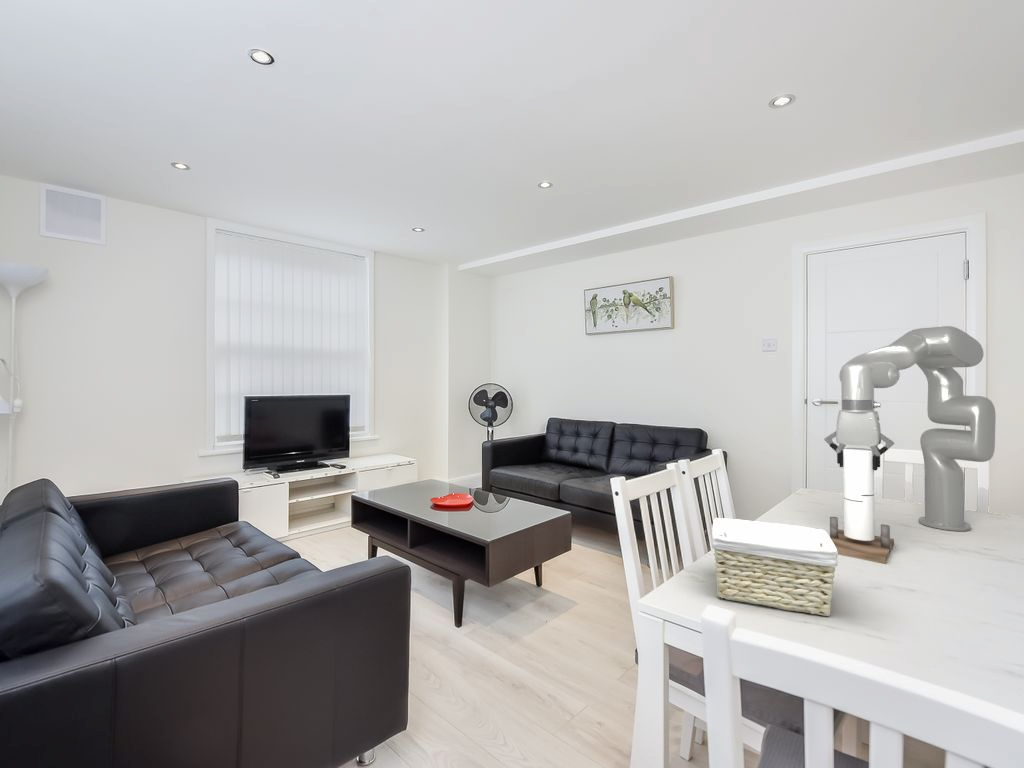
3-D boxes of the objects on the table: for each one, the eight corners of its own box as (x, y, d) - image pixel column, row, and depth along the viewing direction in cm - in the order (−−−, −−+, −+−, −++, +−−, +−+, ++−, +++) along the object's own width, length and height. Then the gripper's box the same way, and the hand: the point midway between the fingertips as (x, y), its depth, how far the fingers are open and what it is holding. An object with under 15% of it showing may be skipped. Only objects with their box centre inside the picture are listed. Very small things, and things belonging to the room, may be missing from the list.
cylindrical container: (880, 541, 132) (879, 451, 132) (851, 539, 133) (850, 451, 133) (866, 533, 139) (865, 447, 139) (839, 531, 140) (838, 447, 140)
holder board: (836, 533, 148) (836, 509, 148) (894, 544, 139) (893, 518, 139) (822, 551, 134) (822, 524, 134) (885, 563, 124) (885, 535, 124)
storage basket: (825, 590, 110) (825, 526, 110) (841, 623, 95) (840, 550, 95) (713, 574, 120) (712, 516, 119) (711, 602, 105) (710, 535, 105)
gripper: (897, 406, 133) (898, 469, 133) (824, 404, 145) (825, 463, 145) (895, 407, 127) (895, 473, 127) (819, 406, 139) (819, 466, 139)
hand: (858, 467), depth 136 cm, fingers closed on cylindrical container, 7 cm apart
